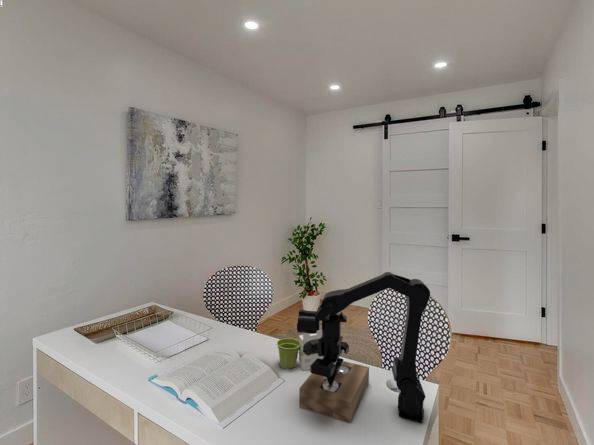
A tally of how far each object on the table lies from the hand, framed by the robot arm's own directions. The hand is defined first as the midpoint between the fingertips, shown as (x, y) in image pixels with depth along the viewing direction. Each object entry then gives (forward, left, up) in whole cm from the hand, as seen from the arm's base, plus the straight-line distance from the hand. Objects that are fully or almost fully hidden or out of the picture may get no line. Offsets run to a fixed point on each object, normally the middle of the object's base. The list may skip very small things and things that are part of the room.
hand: (330, 384), depth 97 cm
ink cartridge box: (+15, -19, -7) cm, 25 cm away
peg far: (0, -11, -6) cm, 13 cm away
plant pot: (+23, -16, -6) cm, 28 cm away
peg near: (0, 0, -6) cm, 6 cm away
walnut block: (0, -6, -6) cm, 8 cm away
